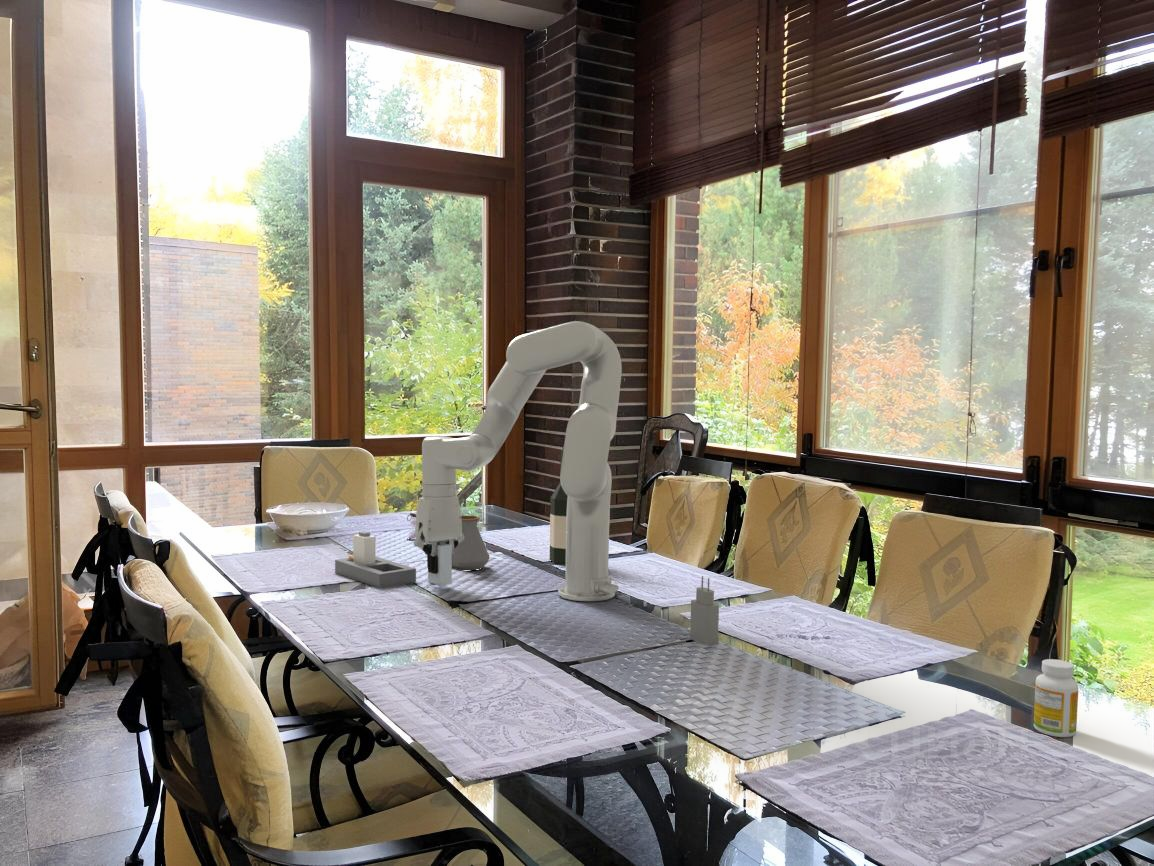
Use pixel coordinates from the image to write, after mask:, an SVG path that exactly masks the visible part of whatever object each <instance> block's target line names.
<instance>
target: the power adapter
mask: <svg viewBox="0 0 1154 866" xmlns="http://www.w3.org/2000/svg"><path fill="white" fill-rule="evenodd" d="M700 583H701V585H700V587H699V586H698V587H696V590H695V591H696V593H695V594H696V595H695V597H696V599H692V600H690V623H689V625H690V627H689V639H690V640H692V641H694V642H696V643H699V644H701V645H704V646H712V645H713V646H714V645H717V644H719V620H720V619H719V618H720V617H719V616H720V615H719V614H720V604H719V603H716V602H715V590H713V589H710V577H708V578H707V587H704V576H703V575H701V582H700Z"/></svg>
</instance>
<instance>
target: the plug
mask: <svg viewBox="0 0 1154 866" xmlns="http://www.w3.org/2000/svg"><path fill="white" fill-rule="evenodd" d="M436 556H438V573H437V574H434V573H430V572H428V571H427V580H428V581H427V582H428V583H431V584H433V585H436V586H440V587H443V586H447V585H452V584H453V577H452V576H453V570H452V569H453V568H452V545H451V544H447V543H446V541H442V542H437V547H436Z"/></svg>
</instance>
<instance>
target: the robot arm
mask: <svg viewBox="0 0 1154 866" xmlns="http://www.w3.org/2000/svg"><path fill="white" fill-rule="evenodd" d="M505 352H506V354H505V356H506V357H505V358H506V361H505V363H504V365H503V366H502V368H501V369H500V371H499V373H498V374H497V376H496V378H494V381H493V382H492V384H491V385H490V387H489V388H488V391H487V395H486V399H487V400H486V401H487V403H486V406H485V407H486V408H485V409H484V413H483V414H482V417H481V418H480V420H479V421H478V423H477V425H476V427H475V428H474V429H473V431H472V433H471V434H470V435H468V436H463V437H458V438H453V437H452V436H445V435H444V436H443V435H438V436H437V435H436V436H427V437H424V439H423V440H422V444H421V464H422V465H421V468H422V469H421V473H422V474H421V475H422V476H421V479H422V480H421V481H422V483H421V485H422V486H421V487H422V488H421V489H422V491H421V493H422V496H421V497H419V498H418V502H417V506H416V512H415V514H416V524H415V527H414V528H415V529H414V530H415V537H414V538H415V539H414V542H413V546H414V547H416V548H418V549H420V550H421V551H423V552H424V554H425V555H426V558H427V560H426V561H427V562H426V565H427V573H428V572H430V573H434V574H437V573H438V556H436V547H437V542H442V541H446V543H447V544H451V545H452V554H453V553H454V549H455V548H456V547H457V545H458V544H459V543H460V542H462V541H463V540H464V538H465V537H464V535H463V533H462V521H461V516H462V512H461V505H460V500H459V496H457V491H459V490H460V487H461V486H460V484H458V483H457V470H460V471H467V472H468V471H474V470H477V469H480V468H482V467H485V466H487V465H488V464H489V463H490V462H492V460H494V458H495V456H496V455H497V454H498V452H499V451H500V449H501V447H502V446H503V444H504V443H505V441H506V439H507V438H508V437H509V434H510V432H511V431H512V429H513V427H514V425H515V423H516V421H517V420H518V418H519V416H520V414H521V411H522V409H523V407H525V404H526V403H527V401H528V400H529V398H530V396H531V395H532V394H533V392H534V390H535V389H536V387H537V385H538V384H539V382H540V381H541V379H542V378H543V376H544V374H545V373H546V372H547V370H550V369H554V368H558V367H562V366H566V365H570V364H574V363H577V362H578V363H579V362H580V363H581V364H582V368H583V374H582V380H581V384H580V394H579V403H578V407H577V409H576V410H575V411H574V412H573V413H572V414H571V416H569V417H570V418H569V419H568V422H567V425H566V430H565V436H564V444H563V447H564V450H563V458H562V465H561V473H559V476H560V479H559V480H560V481H559V483H560V482H561V486H562V488H563V490H564V492H565V493H566V494H567V495H568V499H567V516H566V565H565V569H564V570H565V574H564V575H565V577H564V578H565V579H564V580H565V581H564V585H562V586H560V587H559V588H558V590H557V595H558V596H559V597H560V596H561V597H560V598H563V599H565V600H570V601H577V602H602V601H607V600H610V599H612V598H614V597H615V595H616V592H618V591H619V589H620V587H619V585H618V584H614V583H612V576H609V552H610V551H609V550H610V549H609V547H610V519H611V518H610V515H611V513H610V511H611V509H610V508H611V494H612V480H613V478H612V469H611V467H610V464H609V463H608V458H609V454H610V453H609V452H610V445H611V441H612V440H613V438H614V437H615V434H616V429H617V415H618V408H619V403H620V402H619V401H620V390H621V381H622V372H623V370H622V367H623V365H622V359H621V354H620V352H619V350H618V347H617V345H616V344H615V342H614V341H613V340H612V339H611V338H610V337H609V335H607V334H606V333H605V332H604V331H602V330H601V329H600V328H598V327H597V326H595V325H594V324H591V323H589V322H585V321H579V320H578V321H577V320H574V321H569V322H565V323H560V324H558V325H554V326H550V327H547V328H543V329H539V330H536V331H532V332H528V333H524V334H521V335H518V336H515V338H513V339H512V340H511V341H510V342H509V345H508V346H507V349H506V351H505ZM424 541H425V542H424Z"/></svg>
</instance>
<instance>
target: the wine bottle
mask: <svg viewBox="0 0 1154 866" xmlns="http://www.w3.org/2000/svg"><path fill="white" fill-rule="evenodd" d="M563 450H564V446H562V449H560V465H559V466H560V469H559V470H560V471H559V472H560V473H561V465H562V458H563ZM560 473H559V474H560ZM567 499H568V495H567V494H566V493H565V492H564V490H563V488H562V486H561V482H560V481H559V483H558V485H557V487H556V488H555V490H554V491H553V493H552V495H551V496H550V503H549V504H550V508H549V509H550V511H549V513H550V514H549V561H550V560H551V561H552V562H554V563H556V564H555V565H561V566H562V565H564V566H566V516H567ZM552 562H551V563H552Z"/></svg>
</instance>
